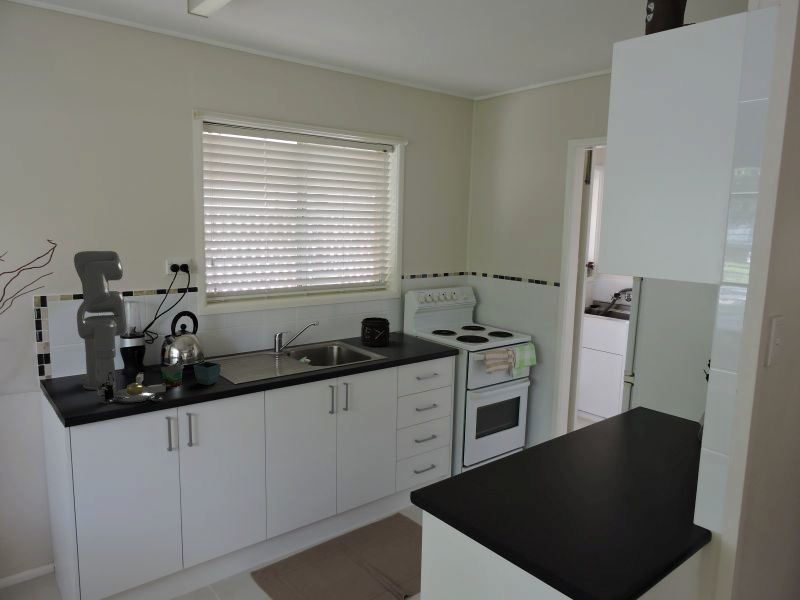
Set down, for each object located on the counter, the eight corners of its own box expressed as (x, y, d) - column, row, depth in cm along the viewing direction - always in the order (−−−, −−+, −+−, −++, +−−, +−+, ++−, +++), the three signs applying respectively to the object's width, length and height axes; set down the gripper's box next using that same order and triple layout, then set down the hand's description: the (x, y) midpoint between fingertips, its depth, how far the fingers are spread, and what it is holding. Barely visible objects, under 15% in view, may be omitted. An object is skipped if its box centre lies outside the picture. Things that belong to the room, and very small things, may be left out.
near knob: (114, 397, 237) (114, 384, 236) (116, 398, 235) (115, 385, 235) (97, 400, 232) (97, 387, 231) (99, 401, 231) (98, 388, 230)
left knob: (141, 388, 249) (140, 376, 248) (136, 389, 249) (135, 376, 248) (143, 384, 255) (143, 372, 254) (139, 384, 255) (138, 372, 254)
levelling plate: (98, 403, 233) (97, 389, 232) (138, 387, 255) (138, 374, 254) (141, 409, 227) (141, 395, 226) (179, 392, 249) (179, 379, 248)
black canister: (353, 344, 354) (354, 319, 352) (373, 340, 368) (374, 315, 365) (375, 349, 342) (376, 323, 340) (394, 344, 356) (395, 319, 354)
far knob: (149, 399, 236) (148, 386, 235) (148, 397, 238) (148, 384, 237) (165, 397, 239) (165, 384, 239) (164, 395, 241) (164, 382, 240)
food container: (174, 390, 253) (173, 368, 251) (161, 388, 254) (161, 366, 253) (189, 382, 265) (189, 361, 263) (177, 381, 266) (177, 360, 264)
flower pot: (209, 387, 258) (209, 368, 257) (193, 384, 261) (193, 365, 260) (221, 382, 267) (221, 363, 265) (206, 379, 270) (205, 361, 268)
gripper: (88, 351, 234) (90, 394, 237) (102, 359, 223) (104, 404, 225) (108, 348, 240) (109, 390, 242) (122, 356, 228) (124, 400, 230)
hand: (107, 396), depth 234 cm, fingers open, 4 cm apart
